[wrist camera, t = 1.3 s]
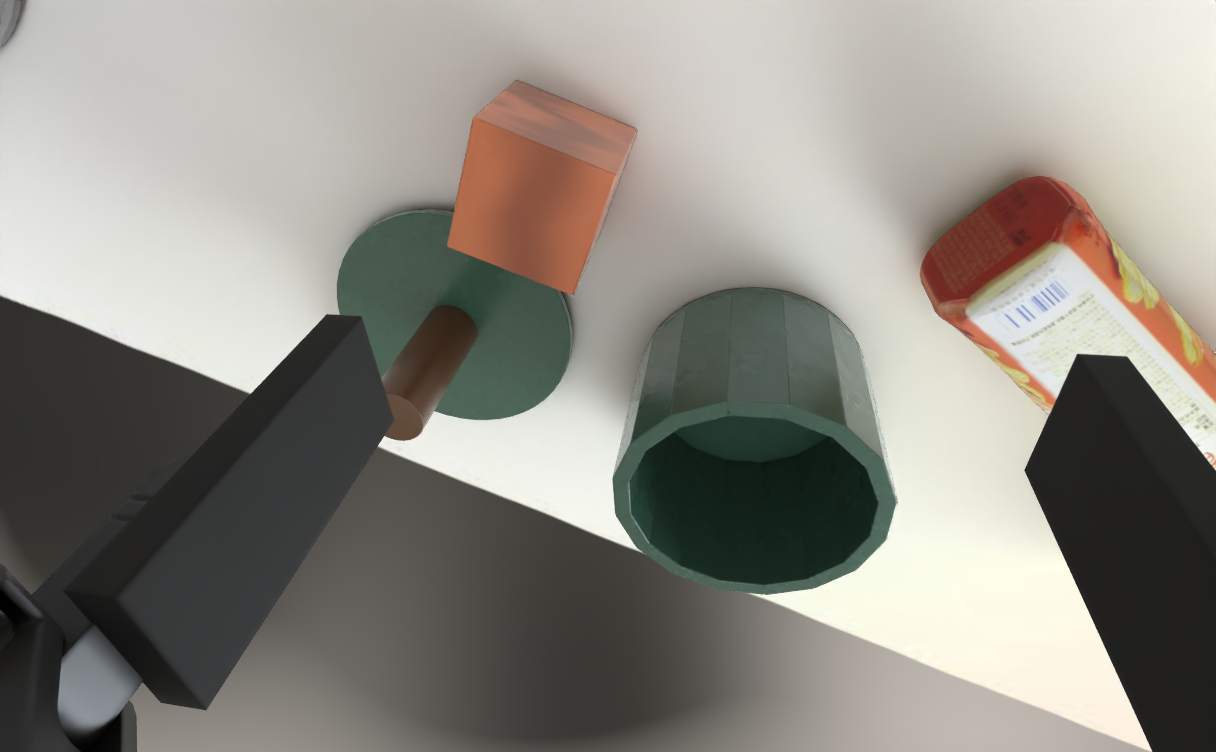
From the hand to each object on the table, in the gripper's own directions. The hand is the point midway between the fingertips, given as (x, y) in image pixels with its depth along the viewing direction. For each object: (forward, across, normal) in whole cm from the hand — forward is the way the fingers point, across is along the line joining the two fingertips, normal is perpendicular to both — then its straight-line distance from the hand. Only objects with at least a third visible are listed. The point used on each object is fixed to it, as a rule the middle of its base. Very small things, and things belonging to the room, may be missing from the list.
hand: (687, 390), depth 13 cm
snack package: (+21, +19, -12) cm, 31 cm away
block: (+21, -8, -3) cm, 23 cm away
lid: (+20, -15, -12) cm, 28 cm away
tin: (+21, +2, -16) cm, 26 cm away
